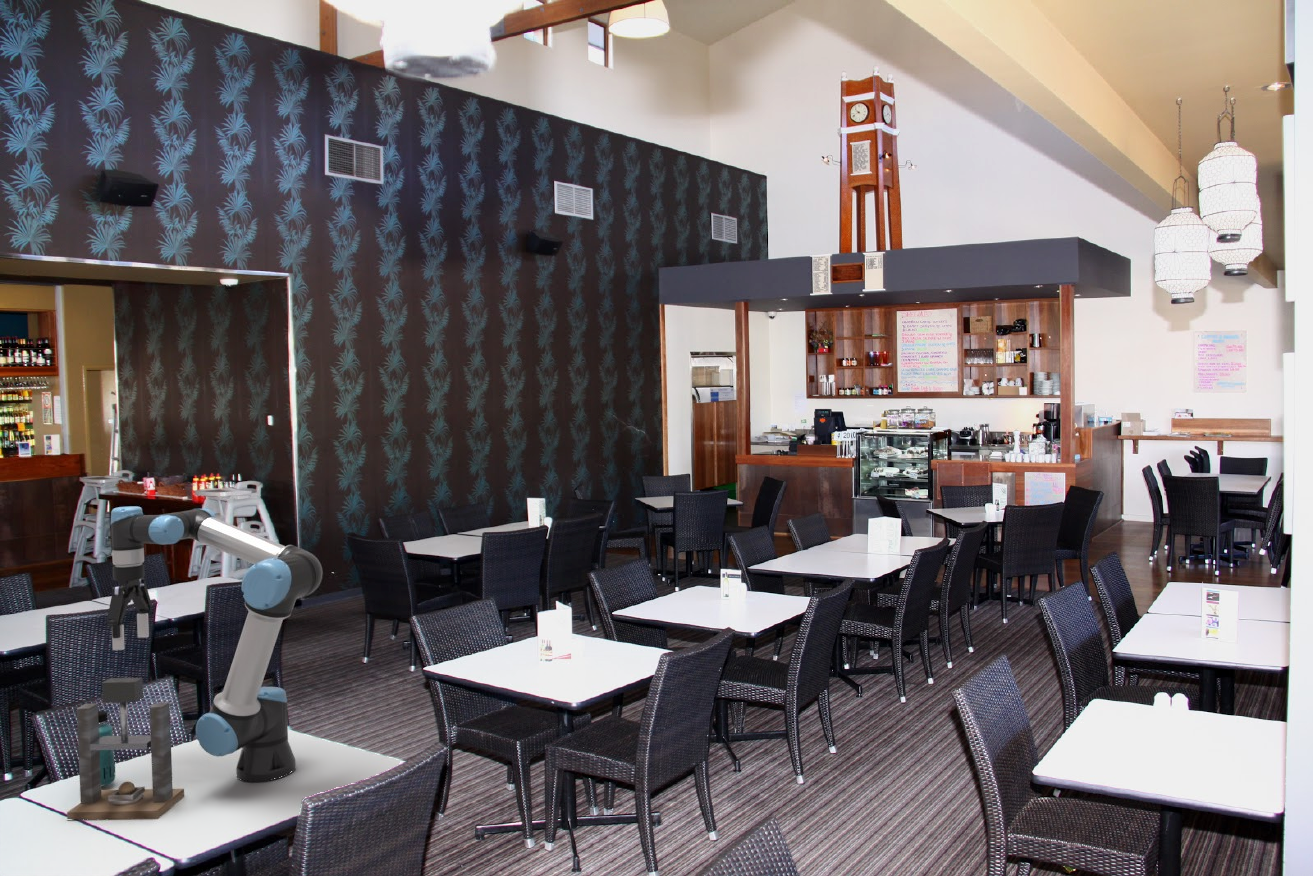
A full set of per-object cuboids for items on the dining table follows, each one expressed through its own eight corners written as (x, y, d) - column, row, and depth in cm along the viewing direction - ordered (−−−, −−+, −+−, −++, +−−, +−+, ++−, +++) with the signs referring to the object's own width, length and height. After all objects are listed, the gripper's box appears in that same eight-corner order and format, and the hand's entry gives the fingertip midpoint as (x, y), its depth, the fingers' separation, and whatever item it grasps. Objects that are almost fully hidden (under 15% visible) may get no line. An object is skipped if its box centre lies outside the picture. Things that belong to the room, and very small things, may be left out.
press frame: (184, 796, 261) (180, 696, 260) (157, 818, 247) (153, 713, 246) (98, 797, 261) (94, 697, 260) (67, 820, 247) (62, 715, 246)
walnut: (137, 793, 255) (137, 779, 255) (130, 799, 252) (129, 784, 252) (123, 793, 255) (123, 779, 255) (116, 799, 252) (115, 785, 252)
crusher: (158, 741, 256) (156, 676, 255) (147, 749, 250) (144, 683, 249) (103, 742, 256) (100, 677, 255) (90, 750, 250) (87, 684, 249)
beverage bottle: (103, 793, 264) (100, 717, 263) (81, 791, 265) (78, 716, 264) (121, 783, 270) (118, 709, 269) (100, 782, 272) (97, 708, 271)
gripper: (136, 557, 283) (139, 632, 284) (89, 573, 258) (92, 655, 259) (163, 557, 283) (166, 632, 284) (119, 572, 258) (122, 654, 259)
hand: (131, 643), depth 272 cm, fingers open, 13 cm apart
